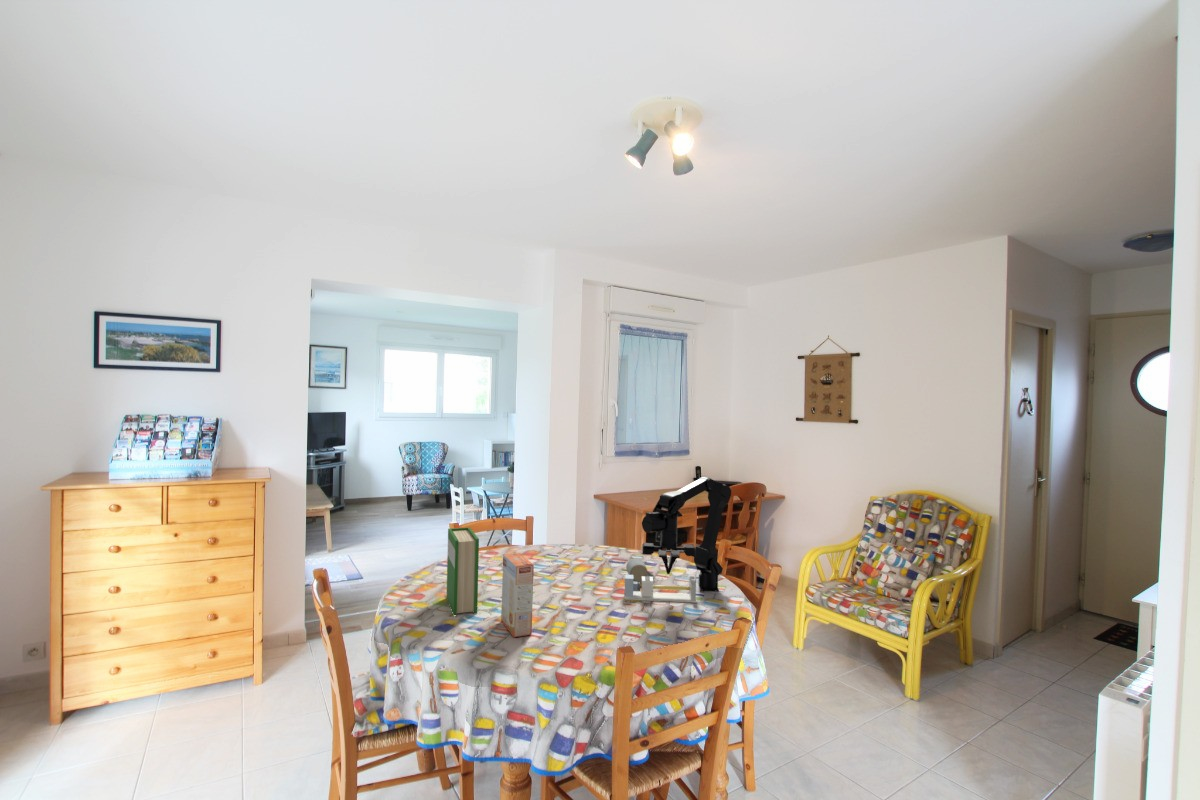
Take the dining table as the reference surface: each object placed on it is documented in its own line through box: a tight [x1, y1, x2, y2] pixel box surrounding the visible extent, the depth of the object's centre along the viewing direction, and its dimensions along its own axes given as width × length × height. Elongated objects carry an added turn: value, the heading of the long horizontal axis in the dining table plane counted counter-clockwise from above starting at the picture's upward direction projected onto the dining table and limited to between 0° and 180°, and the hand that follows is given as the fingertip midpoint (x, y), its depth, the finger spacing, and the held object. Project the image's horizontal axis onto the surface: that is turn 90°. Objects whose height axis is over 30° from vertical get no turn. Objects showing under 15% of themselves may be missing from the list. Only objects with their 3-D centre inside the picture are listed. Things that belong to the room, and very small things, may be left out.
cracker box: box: [500, 552, 535, 638], centre depth 164 cm, size 14×6×21 cm, turn 25°
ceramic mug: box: [625, 557, 656, 583], centre depth 211 cm, size 11×8×8 cm
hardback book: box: [446, 526, 480, 616], centre depth 181 cm, size 18×7×24 cm, turn 23°
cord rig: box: [624, 574, 697, 603], centre depth 192 cm, size 25×7×7 cm, turn 87°
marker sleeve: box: [640, 576, 654, 597], centre depth 192 cm, size 4×5×6 cm
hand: (668, 573), depth 192 cm, fingers closed
